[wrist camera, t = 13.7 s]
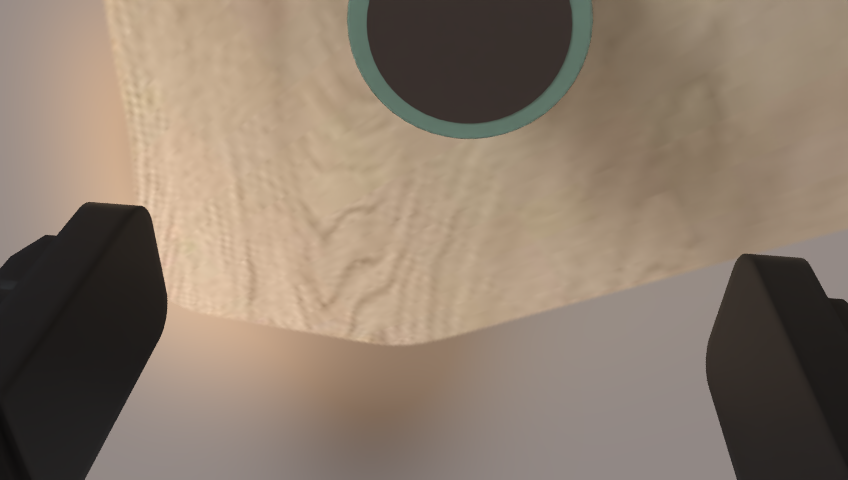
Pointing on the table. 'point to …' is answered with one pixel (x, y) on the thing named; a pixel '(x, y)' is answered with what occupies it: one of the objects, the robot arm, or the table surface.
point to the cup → (469, 59)
